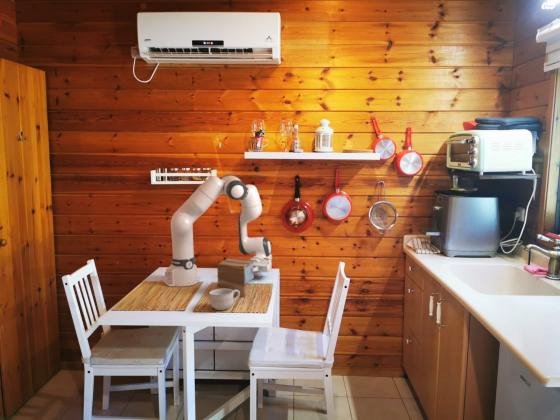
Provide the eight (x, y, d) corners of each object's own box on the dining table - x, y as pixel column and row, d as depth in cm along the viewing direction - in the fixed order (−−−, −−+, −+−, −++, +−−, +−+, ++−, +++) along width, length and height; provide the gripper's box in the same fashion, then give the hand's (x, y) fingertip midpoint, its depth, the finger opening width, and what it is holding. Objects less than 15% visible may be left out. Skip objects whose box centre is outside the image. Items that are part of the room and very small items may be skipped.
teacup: (210, 313, 195) (209, 295, 194) (209, 305, 206) (208, 288, 204) (242, 310, 198) (241, 293, 197) (239, 302, 208) (238, 286, 207)
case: (247, 277, 242) (247, 261, 241) (253, 277, 241) (253, 261, 240) (237, 284, 229) (236, 267, 228) (243, 285, 228) (243, 268, 226)
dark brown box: (228, 287, 231) (228, 258, 229) (254, 289, 227) (253, 260, 225) (218, 294, 220) (217, 264, 218) (244, 297, 215) (243, 266, 213)
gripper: (239, 257, 253) (229, 262, 240) (273, 259, 247) (265, 265, 234) (240, 267, 254) (229, 274, 241) (273, 270, 247) (265, 277, 234)
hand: (247, 270), depth 237 cm, fingers closed on case, 3 cm apart
